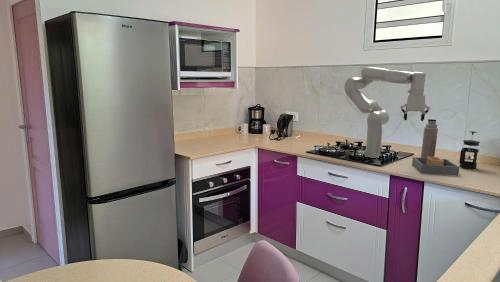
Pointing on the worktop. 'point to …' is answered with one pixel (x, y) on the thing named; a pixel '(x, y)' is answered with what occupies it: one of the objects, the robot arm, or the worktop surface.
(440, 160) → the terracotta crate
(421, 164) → the charcoal crate
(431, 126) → the thermos bottle
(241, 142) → the worktop surface
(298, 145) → the worktop surface
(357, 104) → the robot arm
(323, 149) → the worktop surface
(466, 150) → the french press
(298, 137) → the worktop surface
